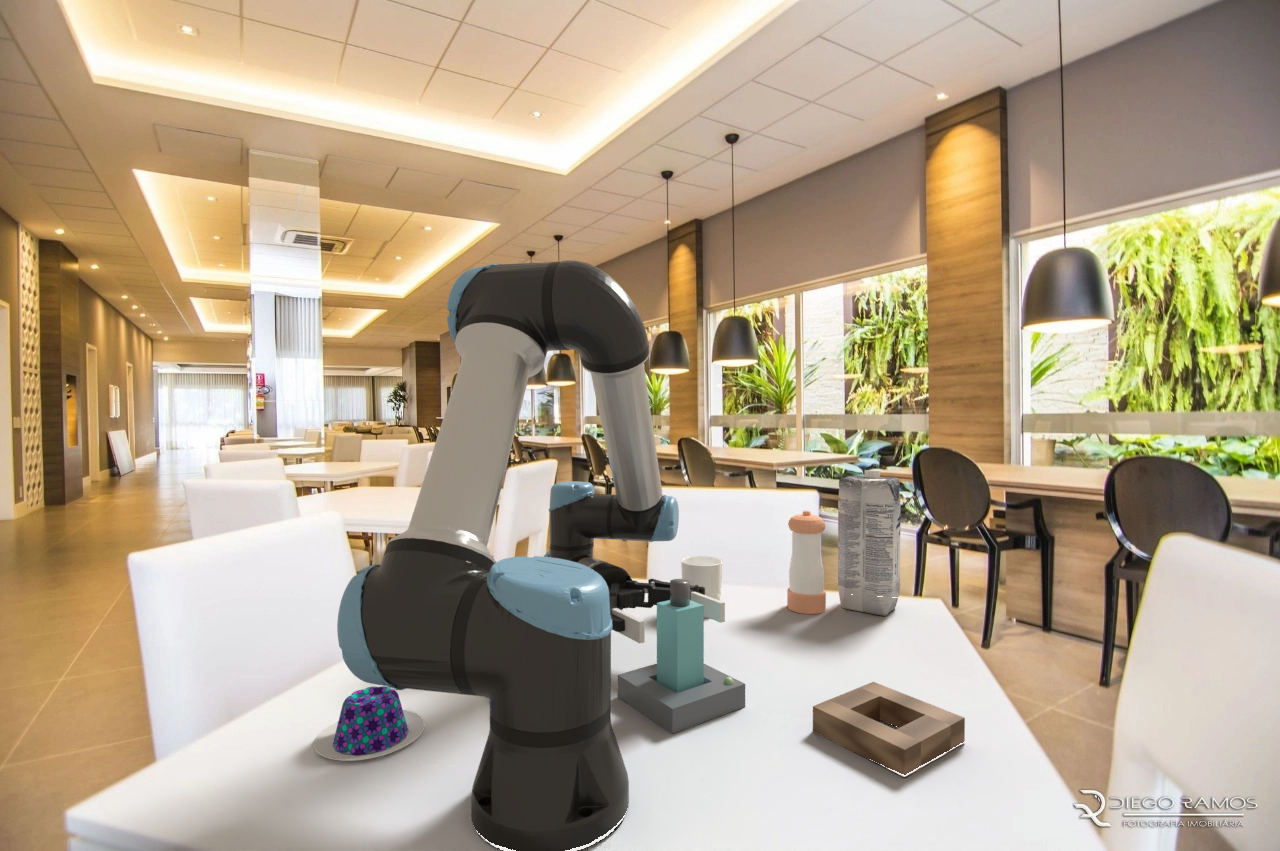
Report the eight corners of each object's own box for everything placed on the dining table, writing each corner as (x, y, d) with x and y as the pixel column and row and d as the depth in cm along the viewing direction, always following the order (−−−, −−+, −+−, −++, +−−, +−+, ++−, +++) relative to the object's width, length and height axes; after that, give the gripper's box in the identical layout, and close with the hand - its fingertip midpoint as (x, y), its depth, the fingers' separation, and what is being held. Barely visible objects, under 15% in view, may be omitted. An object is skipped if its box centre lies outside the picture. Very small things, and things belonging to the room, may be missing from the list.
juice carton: (889, 619, 116) (890, 473, 116) (834, 609, 123) (834, 470, 122) (902, 607, 123) (903, 470, 123) (849, 598, 130) (850, 467, 129)
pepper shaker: (830, 614, 119) (830, 513, 119) (791, 614, 120) (792, 513, 119) (820, 602, 127) (820, 508, 126) (783, 602, 127) (784, 507, 127)
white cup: (721, 606, 124) (721, 556, 124) (723, 619, 116) (723, 566, 116) (681, 605, 125) (681, 555, 125) (680, 618, 117) (680, 565, 117)
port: (745, 706, 82) (745, 678, 82) (672, 733, 75) (672, 702, 75) (686, 675, 92) (686, 650, 92) (617, 696, 85) (617, 669, 85)
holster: (964, 743, 73) (964, 717, 73) (904, 778, 66) (904, 749, 66) (873, 704, 82) (873, 681, 82) (812, 731, 75) (812, 706, 75)
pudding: (377, 707, 82) (377, 667, 82) (446, 727, 77) (446, 685, 77) (290, 751, 72) (290, 705, 72) (363, 778, 66) (363, 729, 66)
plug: (703, 703, 83) (703, 582, 82) (677, 712, 80) (677, 587, 80) (682, 691, 86) (682, 575, 86) (656, 699, 84) (656, 580, 84)
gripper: (663, 596, 108) (752, 631, 90) (528, 624, 93) (603, 672, 76) (663, 552, 107) (752, 579, 90) (528, 573, 93) (603, 610, 76)
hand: (684, 622), depth 83 cm, fingers open, 13 cm apart
